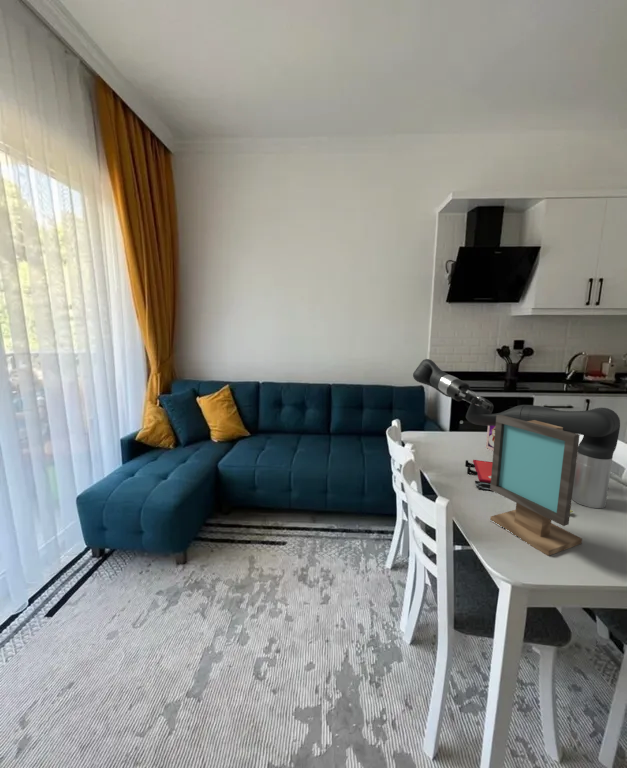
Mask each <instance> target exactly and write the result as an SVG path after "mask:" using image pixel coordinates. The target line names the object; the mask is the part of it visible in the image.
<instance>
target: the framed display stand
mask: <svg viewBox="0 0 627 768" xmlns="http://www.w3.org/2000/svg"><path fill="white" fill-rule="evenodd" d="M527 422H531V423H535V424H539V425H543V426H547V427H551V428H555V429H559V430H563V427H559V426H555V425H551V424H547V423H543V422H539V421H536V420H532V421H527ZM515 503H516V502H515ZM490 520H492V521H494V522H495V523H497V524H499V525H500V526H502V527H504V528H505V529H507V530H509V531H510V532H512V533H513V534H514V535H516V536H518V537H519V538H521V539H522V540H521V539H520V540H521V541H523V542H524V541H525V542H524V543H526V542H527V543H526V544H527V545H529V544H530V546H531V547H533V548H534V549H536V550H538V551H539V552H541V553H542V554H544V555H546V556H547V557H549V556H551V555H552V556H553V555H555V554H558V553H560V552H562V551H563V552H564V551H565V550H567V549H570V548H575V547H576V546H579V545H582V542H583V538H582V537H580V536H577V535H575V534H574V533H572V532H570V531H568V530H566V529H564V528H562V527H560V526H559V525H557V524H554V523H552V520H550V519H548V518H546V517H544V516H542V515H540V514H538V513H536V512H534V511H532V510H530V509H528V508H526V507H524V506H522V505H520V504H518V503H516V504H515V509H512V510H510V511H505V512H502V513H499V514H494V515H492V516H490ZM490 520H489V521H490ZM513 534H512V535H513ZM514 535H513V536H514ZM516 536H515V537H516ZM518 537H517V538H518ZM519 538H518V539H519Z"/></svg>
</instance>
